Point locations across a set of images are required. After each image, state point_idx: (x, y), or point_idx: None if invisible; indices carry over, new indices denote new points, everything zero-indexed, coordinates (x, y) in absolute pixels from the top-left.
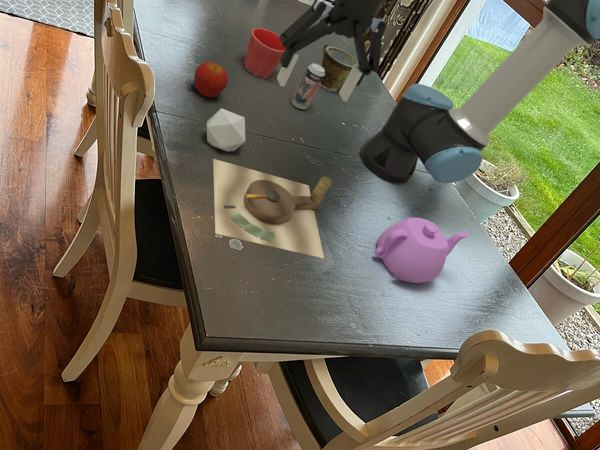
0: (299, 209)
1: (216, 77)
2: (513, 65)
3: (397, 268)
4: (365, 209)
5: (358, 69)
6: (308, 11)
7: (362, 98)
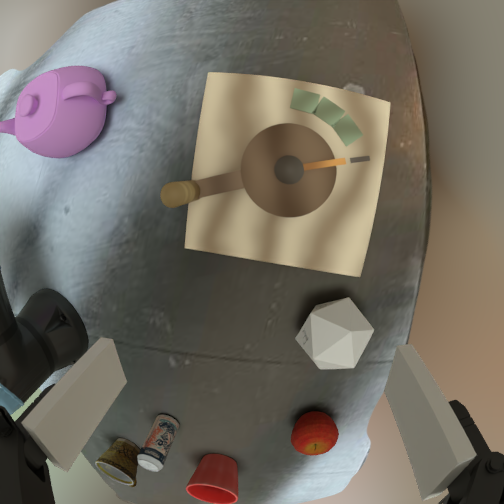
0: None
1: (318, 434)
2: None
3: (97, 71)
4: (94, 220)
5: (42, 446)
6: None
7: None
